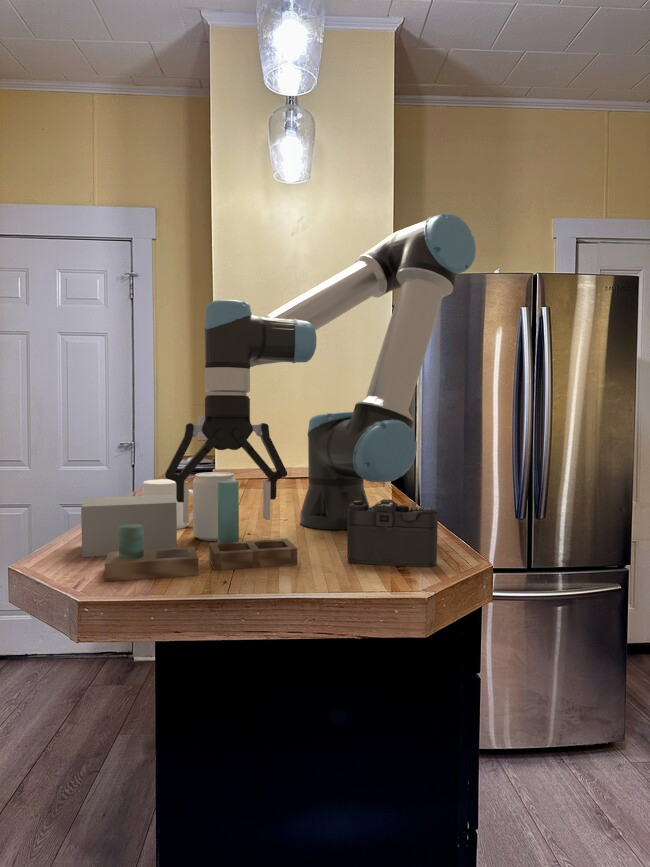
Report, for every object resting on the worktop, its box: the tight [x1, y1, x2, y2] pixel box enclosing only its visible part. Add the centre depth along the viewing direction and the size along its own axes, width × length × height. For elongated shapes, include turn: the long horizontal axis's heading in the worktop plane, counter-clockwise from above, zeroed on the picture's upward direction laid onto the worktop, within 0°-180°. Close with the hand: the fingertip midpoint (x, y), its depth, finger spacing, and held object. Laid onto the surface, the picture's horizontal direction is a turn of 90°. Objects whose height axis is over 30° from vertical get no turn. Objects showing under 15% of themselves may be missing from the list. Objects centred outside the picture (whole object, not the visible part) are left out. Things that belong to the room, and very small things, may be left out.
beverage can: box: [192, 471, 237, 542], centre depth 118 cm, size 8×8×12 cm
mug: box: [141, 478, 193, 530], centre depth 128 cm, size 12×9×8 cm
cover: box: [80, 495, 178, 558], centre depth 109 cm, size 15×10×8 cm, turn 106°
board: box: [104, 524, 199, 582], centre depth 94 cm, size 13×8×7 cm, turn 106°
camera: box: [346, 499, 439, 568], centre depth 102 cm, size 14×11×10 cm
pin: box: [217, 480, 240, 543], centre depth 106 cm, size 4×4×12 cm
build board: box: [208, 538, 299, 571], centre depth 100 cm, size 13×8×2 cm, turn 106°
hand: (226, 520), depth 106 cm, fingers open, 13 cm apart
